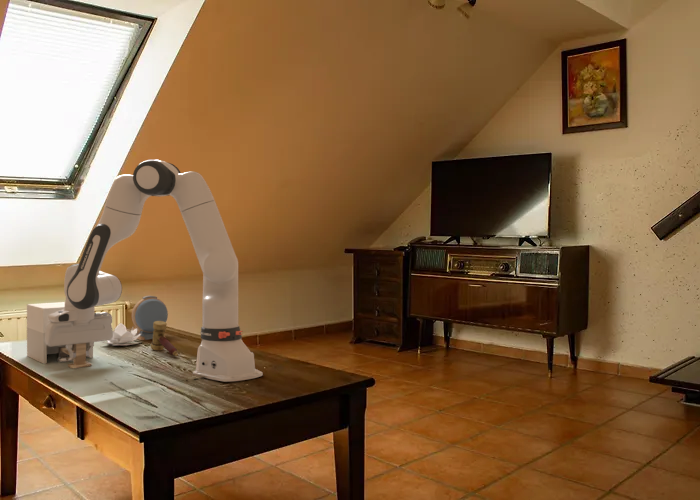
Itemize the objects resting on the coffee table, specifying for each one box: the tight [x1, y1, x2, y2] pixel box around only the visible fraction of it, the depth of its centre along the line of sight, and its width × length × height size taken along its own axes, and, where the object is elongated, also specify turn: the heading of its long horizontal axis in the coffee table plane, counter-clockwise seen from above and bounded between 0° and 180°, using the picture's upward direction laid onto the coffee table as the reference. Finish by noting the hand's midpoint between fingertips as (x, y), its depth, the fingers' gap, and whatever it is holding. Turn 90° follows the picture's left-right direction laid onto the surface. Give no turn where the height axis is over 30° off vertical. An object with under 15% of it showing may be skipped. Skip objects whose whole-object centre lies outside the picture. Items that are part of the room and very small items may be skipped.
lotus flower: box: [101, 322, 141, 347], centre depth 243 cm, size 14×15×9 cm
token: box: [57, 355, 74, 363], centre depth 213 cm, size 5×5×1 cm
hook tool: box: [57, 343, 92, 369], centre depth 209 cm, size 19×6×8 cm, turn 42°
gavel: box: [150, 321, 179, 357], centre depth 227 cm, size 21×5×10 cm, turn 36°
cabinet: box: [26, 301, 94, 365], centre depth 219 cm, size 19×16×18 cm
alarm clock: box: [131, 295, 169, 341], centre depth 260 cm, size 14×10×18 cm
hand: (80, 357), depth 204 cm, fingers closed on hook tool, 3 cm apart
